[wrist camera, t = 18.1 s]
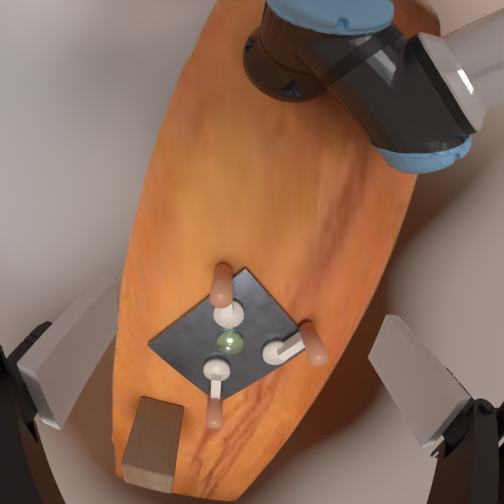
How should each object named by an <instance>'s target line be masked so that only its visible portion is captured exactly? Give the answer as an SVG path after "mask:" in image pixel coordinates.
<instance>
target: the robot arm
mask: <svg viewBox="0 0 504 504" xmlns="http://www.w3.org/2000/svg"><path fill="white" fill-rule="evenodd" d="M393 15H394V5H393V3H392V2H391V1H390V0H266V2H265V7H264V12H263V17H262V22H261V26H259V27H258V28H257V29H256V30H255V31H254V32H253V33H252V34H251V35H250V36H249V38H248V40H247V42H246V44H245V47H244V54H243V64H244V68H245V71H246V73H247V75H248V77H249V79H250V80H251V82H252V83H253V84H254V85H255V86H256V87H257V88H258V89H259V90H261V91H262V92H263V93H265V94H267V95H268V96H270V97H273V98H275V99H278V100H281V101H286V102H305V101H309V100H312V99H315V98H317V97H319V96H320V95H322V94H323V93H325V92H326V91H327V90H329V91H330V92H331V93H332V94H333V96H334V97H335V98H336V99H337V100H338V101H339V102H340V104H341V105H342V106H343V107H344V108H345V110H346V111H347V112H348V113H349V115H350V116H351V117H352V118H353V120H354V121H355V122H356V123H357V125H358V126H359V127H360V128H361V130H362V131H363V132H364V134H365V135H366V136H367V140H368V142H369V143H370V144H371V146H372V147H374V148H375V149H377V151H378V152H379V153H380V155H381V156H382V157H383V159H384V160H385V161H386V163H387V164H388V165H389V166H391V167H392V168H395V169H396V170H398V171H400V172H403V173H410V174H421V173H428V172H433V171H436V170H440V169H443V168H445V167H448V166H450V165H451V164H453V163H454V160H455V159H461V158H462V157H463V156H465V155H466V153H467V152H468V151H469V149H470V147H471V134H473V133H476V132H479V131H481V128H482V125H483V121H484V117H485V115H486V113H487V112H488V111H491V110H493V109H496V108H499V107H501V106H504V8H503V9H500V10H498V11H496V12H493V13H491V14H489V15H486V16H484V17H482V18H480V19H478V20H476V21H473V22H472V23H469V24H467V25H465V26H463V27H461V28H459V29H457V30H455V31H453V32H451V33H450V34H448V35H446V36H443V37H437V36H434V35H430V34H427V33H423V32H419V33H418V34H416V35H414V36H413V37H411V38H409V39H407V38H406V36H405V35H404V34H403V33H402V32H401V31H400V30H399V28H398V27H397V26H396V25H395V24H394V23H393V22H392V20H393ZM403 35H404V36H403ZM117 331H118V318H117V299H116V279H114V278H109V277H104V276H101V277H100V278H99V279H98V280H97V281H96V282H95V283H93V284H92V285H91V286H90V287H89V288H88V289H87V290H86V291H85V292H84V293H83V294H82V295H81V296H80V297H79V298H78V299H77V300H76V301H75V302H74V303H73V304H72V305H71V306H70V307H68V308H67V310H66V311H65V312H64V313H63V314H62V315H61V316H60V317H59V318H58V319H57V320H56V321H55V322H54V323H52V322H49V321H47V322H45V323H43V324H41V325H39V326H37V327H36V328H35V329H34V330H33V331H32V332H31V333H30V335H28V336H27V337H26V338H25V339H24V341H22V342H21V343H20V345H19V346H18V347H17V348H16V349H15V350H14V351H13V352H12V353H11V354H10V355H9V356H8V358H7V359H6V357H5V355H4V352H3V349H2V346H1V345H0V504H65V501H64V500H63V497H62V495H61V493H60V491H59V488H58V486H57V484H56V481H55V479H54V477H53V474H52V472H51V469H50V466H49V463H48V461H47V458H46V455H45V452H44V449H43V446H42V442H41V439H40V436H39V432H38V428H37V425H36V422H35V420H34V417H35V416H36V414H37V412H38V413H39V415H40V417H41V419H42V421H43V422H44V423H46V424H48V425H50V426H53V427H55V428H57V429H59V430H61V429H62V427H63V425H64V423H65V421H66V419H67V417H68V415H69V413H70V411H71V410H72V407H73V406H74V404H75V402H76V400H77V398H78V397H79V395H80V393H81V391H82V389H83V387H84V386H85V384H86V382H87V380H88V379H89V377H90V375H91V373H92V372H93V370H94V368H95V367H96V365H97V363H98V362H99V360H100V358H101V357H102V355H103V353H104V352H105V350H106V348H107V347H108V345H109V344H110V342H111V340H112V339H113V337H114V335H115V334H116V332H117ZM368 359H369V360H370V362H371V363H372V365H373V367H374V368H375V370H376V372H377V373H378V375H379V376H380V378H381V380H382V381H383V383H384V385H385V386H386V388H387V390H388V391H389V393H390V395H391V396H392V398H393V400H394V401H395V403H396V404H397V406H398V408H399V410H400V411H401V413H402V415H403V417H404V418H405V420H406V421H407V423H408V425H409V427H410V429H411V430H412V432H413V434H414V435H415V437H416V439H417V441H418V443H419V444H420V446H421V448H423V447H426V446H429V445H432V444H434V443H435V442H436V441H437V440H438V439H439V437H440V436H441V435H443V437H444V438H445V439H444V440H443V441H442V442H441V443H440V444H439V446H438V447H437V448H436V449H435V450H434V451H433V452H432V453H431V456H433V455H434V454H435V453H436V452H439V454H438V455H436V457H435V458H438V460H437V465H436V470H435V474H434V478H433V482H432V486H431V490H430V494H429V497H428V502H427V504H504V443H503V444H502V445H501V446H500V447H499V445H498V442H499V441H500V440H501V439H502V438H503V436H504V402H503V403H502V405H501V406H500V407H499V408H494V407H493V405H492V404H491V403H489V402H488V401H487V400H484V399H476V400H474V399H473V398H472V397H471V396H470V394H469V393H468V392H467V391H466V389H465V388H464V387H463V386H462V385H461V384H460V382H458V380H457V379H456V378H455V377H454V376H453V374H452V373H451V372H450V371H449V370H448V368H446V367H445V366H444V365H443V364H442V363H441V362H440V361H439V360H438V358H437V357H436V356H435V355H434V354H433V353H432V352H431V351H430V350H429V349H428V347H427V346H426V345H425V344H424V343H423V342H422V341H421V340H420V339H419V338H418V337H417V336H416V335H415V333H414V332H413V331H412V330H411V329H410V328H409V327H408V326H407V325H406V324H405V323H404V322H403V321H402V320H401V319H400V318H399V317H398V315H386V317H385V319H384V322H383V324H382V326H381V329H380V331H379V334H378V336H377V338H376V341H375V343H374V345H373V347H372V350H371V352H370V354H369V356H368Z"/></svg>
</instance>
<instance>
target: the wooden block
mask: <svg viewBox="0 0 504 504" xmlns="http://www.w3.org/2000/svg"><path fill="white" fill-rule="evenodd" d="M183 411H184V408H183V406H179V405H174V404H170V403H166V402H162V401H158V400H154V399H151V398H147V397H142V398H141V400H140V403H139V407H138V410H137V413H136V416H135V419H134V422H133V426H132V429H131V432H130V435H129V439H128V442H127V446H126V449H125V452H124V456H123V460H122V463H121V464H122V469H123V475H124V480H125V482H127V483H131V484H134V485H137V486H141V487H145V488H149V489H153V490H157V491H161V492H166V493H171V491H172V486H173V481H174V475H175V467H176V460H177V452H178V445H179V438H180V431H181V424H182V418H183Z"/></svg>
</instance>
